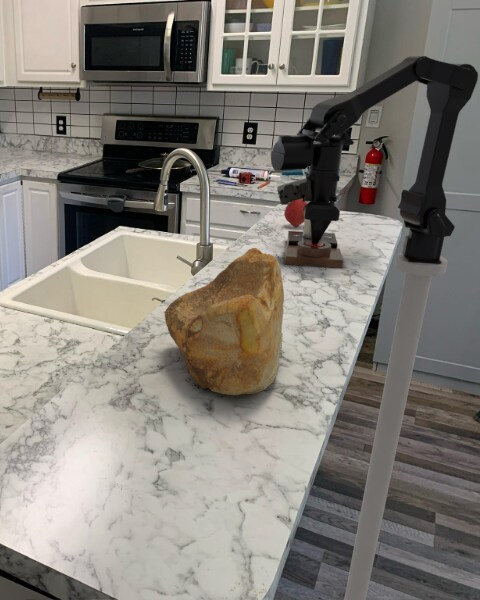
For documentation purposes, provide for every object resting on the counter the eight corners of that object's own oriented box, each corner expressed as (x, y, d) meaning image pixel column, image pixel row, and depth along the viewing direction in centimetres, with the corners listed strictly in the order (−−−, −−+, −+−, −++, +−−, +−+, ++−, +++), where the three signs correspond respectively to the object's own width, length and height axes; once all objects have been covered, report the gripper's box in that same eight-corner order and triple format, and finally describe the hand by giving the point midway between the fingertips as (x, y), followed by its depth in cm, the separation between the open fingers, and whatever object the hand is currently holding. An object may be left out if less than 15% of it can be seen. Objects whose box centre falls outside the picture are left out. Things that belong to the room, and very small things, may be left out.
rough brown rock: (189, 325, 102) (184, 240, 96) (294, 334, 94) (295, 242, 89) (139, 397, 83) (129, 295, 77) (265, 415, 75) (264, 304, 70)
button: (322, 249, 129) (323, 241, 129) (323, 254, 126) (324, 246, 125) (304, 248, 130) (305, 240, 130) (304, 253, 127) (305, 245, 127)
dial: (299, 234, 137) (301, 216, 136) (314, 233, 138) (317, 214, 137) (309, 239, 134) (311, 220, 132) (325, 238, 135) (327, 219, 133)
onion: (287, 230, 150) (291, 198, 147) (279, 224, 155) (283, 193, 152) (311, 229, 150) (315, 197, 147) (302, 223, 155) (306, 192, 152)
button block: (338, 255, 131) (341, 240, 130) (342, 268, 124) (344, 251, 123) (285, 252, 134) (286, 237, 133) (285, 264, 127) (286, 248, 126)
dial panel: (333, 243, 139) (334, 232, 138) (336, 254, 132) (337, 242, 131) (287, 240, 142) (288, 229, 141) (287, 251, 135) (288, 239, 134)
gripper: (281, 159, 132) (274, 229, 138) (281, 175, 116) (273, 254, 122) (337, 160, 129) (327, 232, 135) (344, 177, 113) (333, 258, 119)
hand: (314, 243), depth 128 cm, fingers closed, pressing on button
